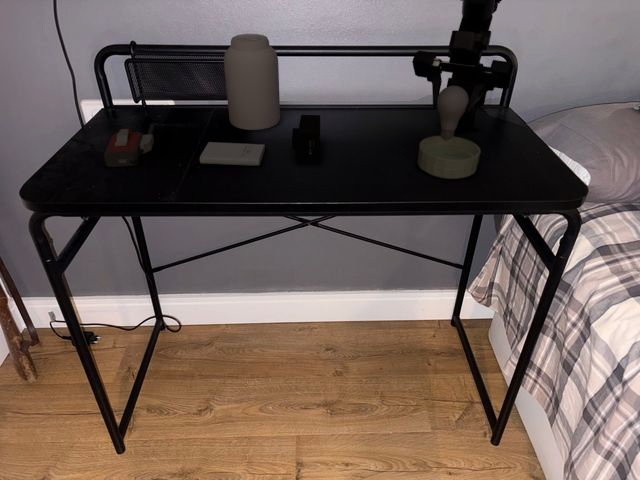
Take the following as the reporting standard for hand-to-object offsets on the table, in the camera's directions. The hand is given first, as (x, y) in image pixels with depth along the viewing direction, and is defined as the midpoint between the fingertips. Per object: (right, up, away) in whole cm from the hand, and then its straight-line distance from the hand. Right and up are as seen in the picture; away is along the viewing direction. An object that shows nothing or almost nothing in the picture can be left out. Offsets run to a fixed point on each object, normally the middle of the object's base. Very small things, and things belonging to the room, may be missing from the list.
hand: (450, 109), depth 97 cm
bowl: (+1, -10, +9) cm, 13 cm away
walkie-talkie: (-66, -5, +14) cm, 68 cm away
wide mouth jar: (-41, +4, +28) cm, 50 cm away
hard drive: (-44, -7, +11) cm, 46 cm away
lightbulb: (0, -5, +5) cm, 7 cm away
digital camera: (-28, -6, +13) cm, 32 cm away
